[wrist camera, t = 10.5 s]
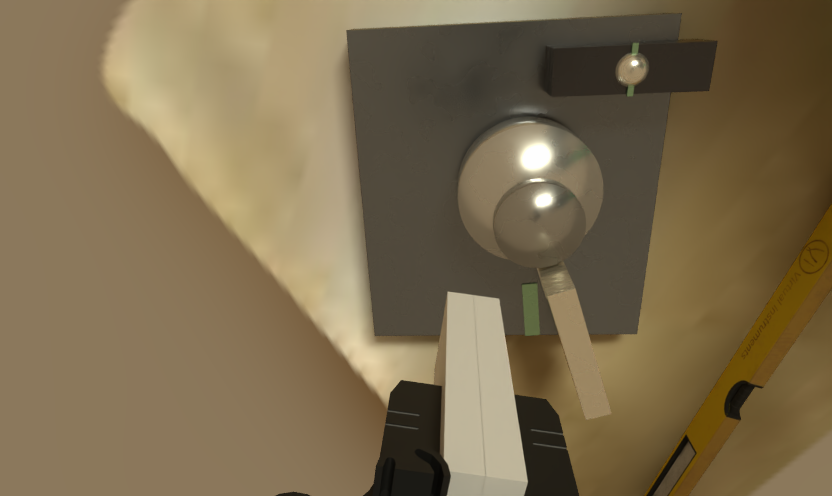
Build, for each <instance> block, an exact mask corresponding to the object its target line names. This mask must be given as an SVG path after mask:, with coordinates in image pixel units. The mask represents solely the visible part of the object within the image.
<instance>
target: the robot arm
mask: <svg viewBox="0 0 832 496" xmlns="http://www.w3.org/2000/svg"><path fill="white" fill-rule="evenodd" d="M566 447H567V446H566V443H565V439H564V436H563V431H562V427H561V423H560V419H559V415H558V414H557V413H556V412H555V410H554V409H553V408H552V406H551V405H550V404H549V402H548V401H547V400H546V399H540V398H533V397H526V396H519V395H514V390H513V384H512V378H511V371H510V365H509V359H508V352H507V346H506V339H505V333H504V327H503V320H502V314H501V307H500V301H499V299H498V298H491V297H483V296H476V295H469V294H462V293H455V292H447V298H446V304H445V310H444V316H443V322H442V328H441V334H440V340H439V346H438V352H437V358H436V364H435V373H434V385H432V384H424V383H417V382H410V381H403V380H401V381H400V382H399V383H398V385H397V386H396V387H395V388H394V389H393V391H392V392H391V393H390V399H389V405H388V411H387V417H386V424H385V429H384V436H383V441H382V447H381V453H380V458H379V460H378V463H377V465H376V470H375V479H374V484H373V486H372V487H371V489H370V490H369V491H368V492H367V493H366V494H365V495H363V496H579V493H578V489H577V485H576V481H575V477H574V474H573V470H572V466H571V462H570V458H569V454H568V450H566ZM276 496H310V495H308V494H303V493H297V492H290V493H283V494H278V495H276Z"/></svg>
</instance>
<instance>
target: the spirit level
mask: <svg viewBox="0 0 832 496" xmlns="http://www.w3.org/2000/svg"><path fill="white" fill-rule="evenodd" d="M831 288H832V204H831V205H830V207H829V208H828V210H827V212H826V213H825V215H824V216H823V218H822V219H821V221H820V222H819V224H818V226H817V227H816V229H815V230H814V232H813V233H812V235H811V236H810V238H809V240H808V241H807V243H806V244H805V246H804V247H803V249H802V250H801V252H800V254H799V255H798V257H797V258H796V260H795V261H794V263H793V264H792V266H791V268H790V269H789V271H788V272H787V274H786V275H785V277H784V278H783V280H782V282H781V283H780V285H779V286H778V288H777V289H776V291H775V293H774V294H773V296H772V297H771V299H770V300H769V302H768V303H767V305H766V307H765V308H764V310H763V311H762V313H761V314H760V316H759V317H758V319H757V321H756V322H755V324H754V325H753V327H752V328H751V330H750V331H749V333H748V335H747V336H746V338H745V339H744V341H743V342H742V344H741V345H740V347H739V349H738V350H737V352H736V353H735V355H734V356H733V358H732V359H731V361H730V363H729V364H728V366H727V367H726V369H725V370H724V372H723V373H722V375H721V377H720V378H719V380H718V381H717V383H716V384H715V386H714V387H713V389H712V391H711V392H710V394H709V395H708V397H707V398H706V400H705V401H704V403H703V405H702V406H701V408H700V409H699V411H698V412H697V414H696V416H695V417H694V419H693V420H692V422H691V423H690V425H689V426H688V428H687V430H686V431H685V433H684V434H683V436H682V437H681V439H680V440H679V442H678V444H677V445H676V447H675V448H674V450H673V451H672V453H671V454H670V456H669V458H668V459H667V461H666V462H665V464H664V465H663V467H662V468H661V470H660V472H659V473H658V475H657V476H656V478H655V479H654V481H653V482H652V484H651V486H650V487H649V489H648V490H647V492H646V493H645V495H644V496H688V495H689V494H690V492H691V491H692V489H693V488H694V487H695V485H696V484H697V482H698V481H699V479H700V478H701V476H702V475H703V474H704V472H705V471H706V469H707V468H708V466H709V465H710V463H711V462H712V461H713V459H714V458H715V456H716V455H717V453H718V452H719V450H720V449H721V448H722V446H723V445H724V443H725V442H726V440H727V439H728V437H729V436H730V435H731V433H732V432H733V430H734V429H735V427H736V426H737V424H738V423H739V421H740V420H741V417H740V412H739V411H740V408H741V406H742V405H743V403H744V402H745V401H746V399H747V398H748V396H749V395H750V393H751V392H752V390H753V389H754V387H758V388H763V387H764V385H765V384H766V382H767V381H768V380H769V378H770V377H771V375H772V374H773V372H774V371H775V369H776V368H777V367H778V365H779V364H780V362H781V361H782V359H783V358H784V356H785V355H786V354H787V352H788V351H789V349H790V348H791V346H792V345H793V343H794V342H795V341H796V339H797V338H798V336H799V335H800V333H801V332H802V330H803V329H804V328H805V326H806V325H807V323H808V322H809V320H810V319H811V317H812V316H813V315H814V313H815V312H816V310H817V309H818V307H819V306H820V304H821V303H822V302H823V300H824V299H825V297H826V296H827V294H828V293H829V291H830V290H831Z"/></svg>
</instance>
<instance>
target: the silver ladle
mask: <svg viewBox="0 0 832 496" xmlns="http://www.w3.org/2000/svg"><path fill="white" fill-rule="evenodd" d="M602 200H603V178H602V173H601V170H600V167H599V164H598V162H597V160H596V158H595V157H594V155H593V154H592V152H591V151H590V149H589V148H588V147H587V146H586V145H585V144H584V143H583V142H582V141H581V140H580V139H579V138H578V137H577V136H576V135H575V134H574V133H573V132H572V131H570V130H569V129H568V128H567V127H565V126H563V125H561V124H560V123H558V122H555V121H553V120H550V119H546V118H542V117H533V116H528V117H517V118H512V119H509V120H505V121H503V122H500V123H498V124H496V125H494V126H493V127H491V128H489V129H488V130H486V131H485V132H484V133H482V134H481V135H480V136H479V137H478V138H477V139H476V140H475V141H474V142H473V144H472V145H471V146H470V148H469V149H468V151H467V152H466V154H465V156H464V158H463V161H462V163H461V166H460V170H459V174H458V205H459V212H460V215H461V219H462V221H463V223H464V226H465V228H466V229H467V231H468V233H469V234H470V235H471V237H472V238H473V239H474V240H475V241H476V242H477V243H478V244H479V245H480V246H481V247H483V248H484V249H485V250H487V251H488V252H490V253H492V254H494V255H496V256H498V257H501V258H504V259H507V260H511V261H513V262H514V263H516V264H519V265H521V266H524V267H529V268H537V271H538V274H539V277H540V281H541V284H542V287H543V290H544V293H545V296H546V298H547V300H548V303H549V307H550V310H551V313H552V316H553V319H554V322H555V326H556V329H557V332H558V335H559V338H560V342H561V345H562V348H563V351H564V354H565V357H566V361H567V364H568V367H569V370H570V373H571V376H572V379H573V382H574V385H575V388H576V391H577V394H578V397H579V400H580V403H581V406H582V409H583V412H584V416H585V419H586V420H588V419H592V418H596V417H601V416H605V415H609V414H612V413H611V410H610V406H609V403H608V399H607V396H606V392H605V389H604V386H603V382H602V379H601V375H600V372H599V368H598V365H597V361H596V358H595V354H594V351H593V347H592V344H591V341H590V337H589V334H588V330H587V327H586V323H585V320H584V316H583V313H582V309H581V306H580V302H579V299H578V296H577V292H576V289H575V286H574V284H573V282H572V280H571V277H570V275H569V273H568V271H567V268H566V266H565V264H564V262H563V261H564V260H565V259H567V258H568V257H569V256H571V255H572V254H573V253H574V252H575V251H576V249H577V248H578V247H579V245H580V243H581V242H582V240H583V237H584V236H585V235H586V234H587V233H588V231H589V230H590V229H591V227H592V226H593V224H594V222H595V220H596V219H597V216H598V214H599V211H600V208H601V205H602Z"/></svg>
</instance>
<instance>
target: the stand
mask: <svg viewBox="0 0 832 496" xmlns="http://www.w3.org/2000/svg"><path fill="white" fill-rule="evenodd" d="M681 15H682V13H663V14H643V15H624V16H604V17H584V18H564V19H545V20H525V21H505V22H485V23H465V24H446V25H426V26H406V27H386V28H367V29H351V30H346V31H347V42H348V53H349V63H350V74H351V85H352V96H353V106H354V117H355V128H356V139H357V149H358V160H359V171H360V182H361V193H362V203H363V214H364V225H365V236H366V246H367V257H368V268H369V279H370V289H371V300H372V311H373V322H374V332H375V336H414V335H440V334H441V328H442V322H443V316H444V310H445V304H446V298H447V292H455V293H462V294H469V295H476V296H483V297H491V298H498V299H499V301H500V307H501V314H502V320H503V327H504V333H505V335H525V336H532V335H558V332H557V329H556V326H555V322H554V319H553V316H552V313H551V310H550V307H549V303H548V300H547V298H546V296H545V293H544V290H543V287H542V284H541V281H540V277H539V274H538V271H537V268H529V267H524V266H521V265H519V264H516V263H514V262H513V261H511V260H507V259H504V258H501V257H498V256H496V255H494V254H492V253H490V252H488V251H487V250H485V249H484V248H483V247H481V246H480V245H479V244H478V243H477V242H476V241H475V240H474V239H473V238H472V237H471V235H470V234H469V233H468V231H467V229H466V228H465V226H464V223H463V221H462V219H461V215H460V212H459V205H458V174H459V170H460V166H461V163H462V161H463V158H464V156H465V154H466V152H467V151H468V149H469V148H470V146H471V145H472V144H473V142H474V141H475V140H476V139H477V138H478V137H479V136H480V135H481V134H482V133H484V132H485V131H486V130H488V129H489V128H491V127H493V126H494V125H496V124H498V123H500V122H503V121H505V120H509V119H512V118H517V117H528V116H533V117H542V118H546V119H550V120H553V121H555V122H558V123H560V124H561V125H563V126H565V127H567V128H568V129H569V130H570V131H572V132H573V133H574V134H575V135H576V136H577V137H578V138H579V139H580V140H581V141H582V142H583V143H584V144H585V145H586V146H587V147H588V148H589V149H590V151H591V152H592V154H593V155H594V157H595V158H596V160H597V162H598V164H599V167H600V170H601V173H602V178H603V200H602V205H601V208H600V211H599V214H598V216H597V219H596V220H595V222H594V224H593V226H592V227H591V229H590V230H589V231H588V233H587V234H586V235H585V236H584V237H583V240H582V242H581V243H580V245H579V247H578V248H577V249H576V251H575V252H574V253H573V254H572V255H571V256H569V257H568V258H567V259H565V260H564V261H563V262H564V264H565V266H566V268H567V271H568V273H569V275H570V277H571V280H572V282H573V284H574V286H575V289H576V292H577V296H578V299H579V302H580V306H581V309H582V313H583V316H584V320H585V323H586V327H587V330H588V334H637V330H638V323H639V316H640V309H641V302H642V295H643V287H644V280H645V273H646V266H647V259H648V251H649V244H650V237H651V230H652V223H653V216H654V208H655V201H656V194H657V187H658V180H659V173H660V165H661V158H662V151H663V144H664V137H665V130H666V122H667V115H668V108H669V101H670V94H671V92H693V91H709V89H710V83H711V77H712V71H713V65H714V59H715V53H716V47H717V41H713V40H704V39H682V40H678V36H679V29H680V22H681Z"/></svg>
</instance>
